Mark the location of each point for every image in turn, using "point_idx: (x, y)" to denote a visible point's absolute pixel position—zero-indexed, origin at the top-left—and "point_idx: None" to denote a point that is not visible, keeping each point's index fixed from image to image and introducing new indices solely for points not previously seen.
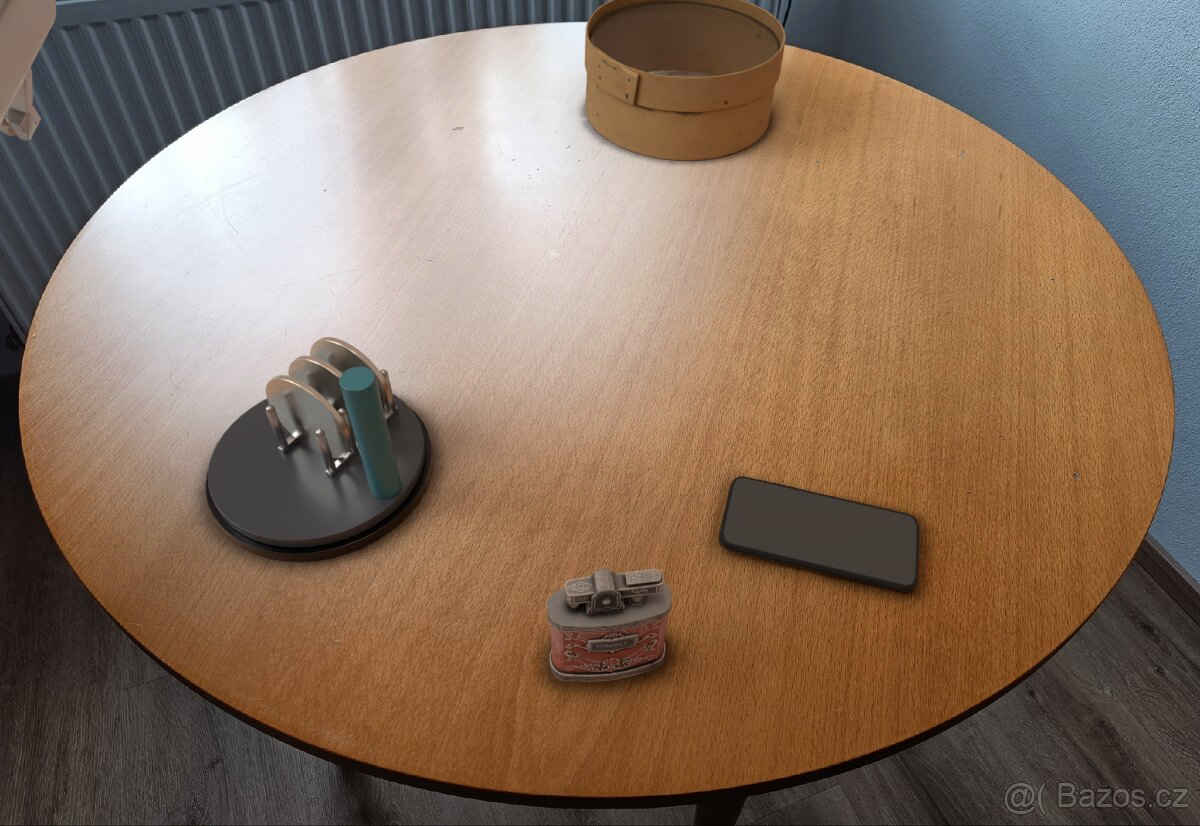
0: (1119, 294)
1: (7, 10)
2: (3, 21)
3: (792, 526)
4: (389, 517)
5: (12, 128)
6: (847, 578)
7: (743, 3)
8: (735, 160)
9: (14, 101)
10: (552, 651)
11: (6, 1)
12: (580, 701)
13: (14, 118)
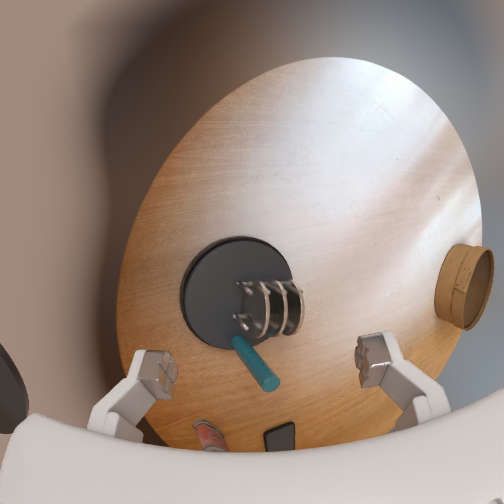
0: (382, 434)
1: None
2: None
3: (279, 442)
4: None
5: (362, 361)
6: None
7: (487, 297)
8: (434, 318)
9: (389, 388)
10: (199, 430)
11: None
12: (190, 432)
13: (370, 382)
